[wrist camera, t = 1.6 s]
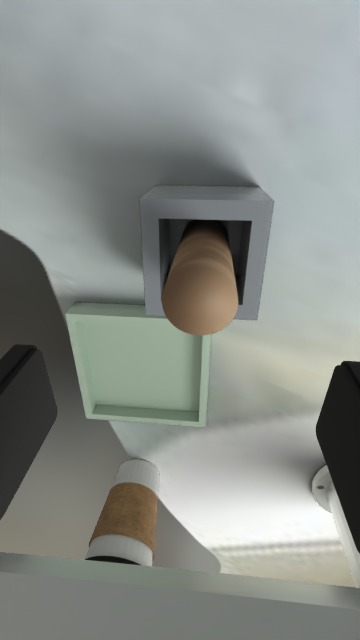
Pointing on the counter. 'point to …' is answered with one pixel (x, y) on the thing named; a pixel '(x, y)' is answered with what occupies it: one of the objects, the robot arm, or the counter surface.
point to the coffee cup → (128, 517)
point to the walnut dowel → (201, 280)
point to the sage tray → (138, 365)
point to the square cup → (206, 204)
